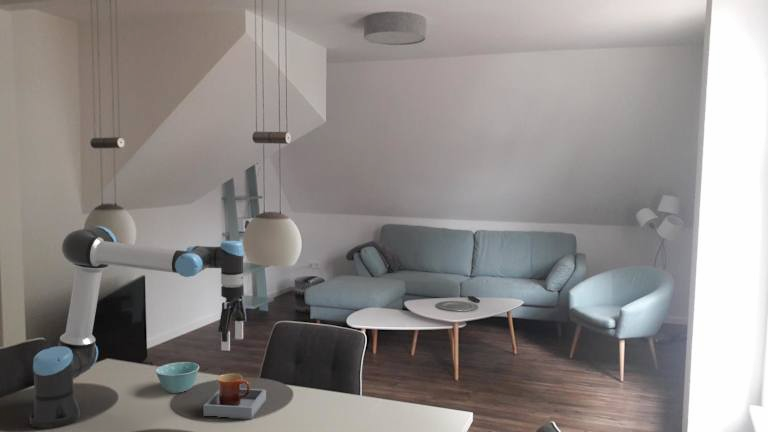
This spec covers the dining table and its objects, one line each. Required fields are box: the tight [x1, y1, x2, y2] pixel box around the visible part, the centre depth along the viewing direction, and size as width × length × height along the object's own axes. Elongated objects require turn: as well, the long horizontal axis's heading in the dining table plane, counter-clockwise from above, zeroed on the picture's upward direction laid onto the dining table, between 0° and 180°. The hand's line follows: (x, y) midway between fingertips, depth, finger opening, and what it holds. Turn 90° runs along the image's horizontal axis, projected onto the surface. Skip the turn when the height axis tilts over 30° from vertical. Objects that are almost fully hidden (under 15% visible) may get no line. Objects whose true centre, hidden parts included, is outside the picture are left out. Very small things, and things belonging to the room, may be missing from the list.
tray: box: [202, 387, 267, 420], centre depth 226 cm, size 17×17×4 cm
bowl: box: [155, 361, 200, 394], centre depth 243 cm, size 16×16×8 cm
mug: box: [216, 372, 251, 406], centre depth 225 cm, size 12×9×10 cm
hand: (232, 344), depth 225 cm, fingers open, 13 cm apart
